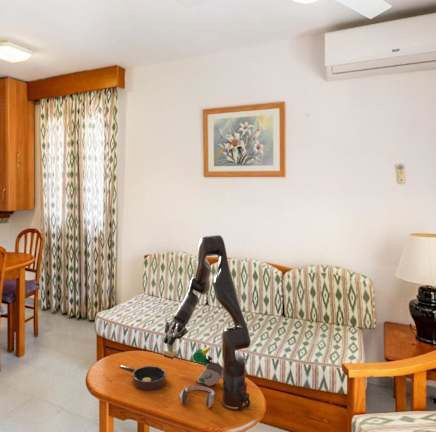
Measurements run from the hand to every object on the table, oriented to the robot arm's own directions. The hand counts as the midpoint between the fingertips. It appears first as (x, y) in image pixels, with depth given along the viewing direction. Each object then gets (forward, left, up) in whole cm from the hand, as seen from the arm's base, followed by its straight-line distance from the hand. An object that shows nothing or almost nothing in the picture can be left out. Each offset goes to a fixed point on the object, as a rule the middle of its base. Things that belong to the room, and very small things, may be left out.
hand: (167, 343), depth 186 cm
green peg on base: (0, -2, -7) cm, 7 cm away
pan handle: (+16, +9, -14) cm, 24 cm away
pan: (+4, +9, -16) cm, 19 cm away
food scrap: (+5, +9, -16) cm, 19 cm away
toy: (-21, -6, -17) cm, 28 cm away
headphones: (-21, +10, -17) cm, 29 cm away
